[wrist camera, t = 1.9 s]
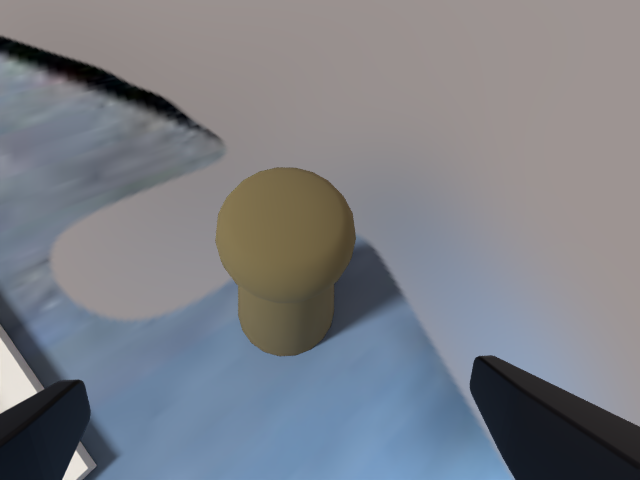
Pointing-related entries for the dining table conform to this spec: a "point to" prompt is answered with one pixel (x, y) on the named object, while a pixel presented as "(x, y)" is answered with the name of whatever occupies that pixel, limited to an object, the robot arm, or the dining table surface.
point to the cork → (285, 256)
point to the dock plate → (21, 383)
